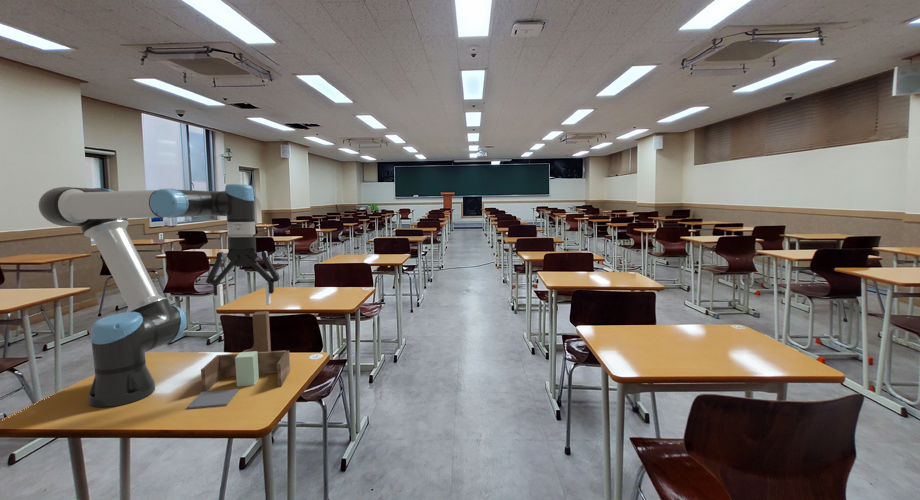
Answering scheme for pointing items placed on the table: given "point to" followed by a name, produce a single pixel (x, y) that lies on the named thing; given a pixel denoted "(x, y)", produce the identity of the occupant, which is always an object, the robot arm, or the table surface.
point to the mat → (213, 398)
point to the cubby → (227, 367)
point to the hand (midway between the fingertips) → (245, 305)
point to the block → (247, 368)
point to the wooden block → (261, 332)
